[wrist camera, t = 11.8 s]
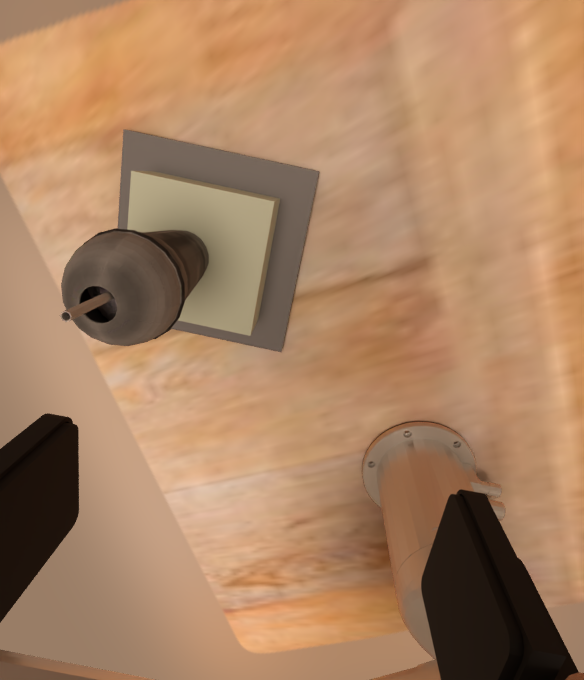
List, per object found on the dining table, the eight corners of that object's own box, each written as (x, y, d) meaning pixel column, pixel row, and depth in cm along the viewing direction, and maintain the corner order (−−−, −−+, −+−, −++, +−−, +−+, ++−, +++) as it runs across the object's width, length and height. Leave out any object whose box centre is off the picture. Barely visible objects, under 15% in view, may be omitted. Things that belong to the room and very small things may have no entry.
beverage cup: (125, 251, 39) (-62, 321, 20) (182, 194, 37) (34, 214, 18) (183, 313, 41) (61, 431, 22) (242, 261, 39) (161, 344, 20)
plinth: (319, 171, 41) (318, 170, 36) (282, 348, 48) (276, 371, 42) (128, 130, 41) (97, 123, 36) (116, 313, 48) (88, 331, 42)
